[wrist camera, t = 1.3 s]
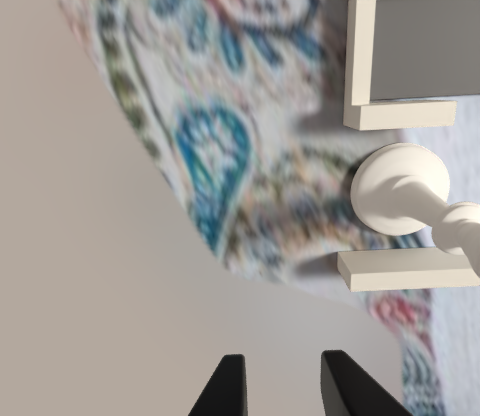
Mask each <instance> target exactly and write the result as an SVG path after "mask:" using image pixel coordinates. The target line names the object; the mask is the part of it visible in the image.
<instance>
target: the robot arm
mask: <svg viewBox="0 0 480 416" xmlns="http://www.w3.org/2000/svg"><path fill="white" fill-rule="evenodd" d="M321 393H322V399H323V404H324V409H325V414H326V416H413V415H412V414H411V413H410V412H409V411H408V410H407V409H406V408H405V407H403V406H402V405H401V404H400V403H399V402H398V401H397V400H396V399H395V398H394V397H393V396H392V395H391V394H390V393H388V392H387V391H386V390H385V389H384V388H383V387H382V386H381V385H380V384H379V383H378V382H377V381H376V380H375V379H373V378H372V377H371V376H370V375H369V374H368V373H367V372H366V371H365V370H364V369H363V368H362V367H361V366H359V365H358V364H357V363H356V362H355V361H354V360H353V359H352V358H351V357H350V356H349V355H348V354H347V353H346V352H344V351H342V350H325V351H323V352H322V355H321ZM188 416H248V411H247V385H246V369H245V357H244V356H243V355H242V354H232V355H225V356H224V357H223V358H222V360H221V361H220V363H219V364H218V366H217V368H216V370H215V371H214V373H213V375H212V376H211V378H210V380H209V381H208V383H207V385H206V386H205V388H204V390H203V391H202V393H201V395H200V396H199V398H198V400H197V402H196V403H195V405H194V406H193V408H192V410H191V412H190V413H189V415H188Z"/></svg>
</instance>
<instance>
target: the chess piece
mask: <svg viewBox="0 0 480 416" xmlns="http://www.w3.org/2000/svg"><path fill="white" fill-rule="evenodd" d="M449 187H450V182H449V175H448V172H447V169H446V167H445V165H444V163H443V162H442V161H441V159H440V158H439V157H438V156H437V155H435V154H434V153H433V152H431V151H429V150H428V149H426V148H425V147H423V146H420V145H417V144H413V143H396V144H391V145H388V146H385V147H383V148H381V149H379V150H377V151H376V152H374V153H373V154H371V155H370V156H369V157H368V158H367V159H366V160H365V161H364V162H363V163H362V164H361V166H360V167H359V168H358V170H357V172H356V174H355V176H354V178H353V181H352V185H351V203H352V206H353V209H354V211H355V213H356V215H357V216H358V218H359V219H360V220H361V221H362V222H363V223H364V224H365V225H367V226H368V227H370V228H372V229H373V230H375V231H377V232H380V233H382V234H386V235H405V234H410V233H413V232H415V231H418V230H420V229H422V228H423V227H425V226H426V225H428V226H431V227H432V239H433V242H434V244H435V245H436V247H437V248H438V249H440V250H441V251H443V252H445V253H448V254H452V255H466V256H467V258H468V260H469V263H470V265H471V267H472V269H473V270H474V272H475V273H476V275H477V276H478V277H479V278H480V205H478V204H476V203H473V202H459V203H455V204H453V205H448V204H447V203H446V200H447V198H448V194H449Z"/></svg>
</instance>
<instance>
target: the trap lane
mask: <svg viewBox="0 0 480 416" xmlns="http://www.w3.org/2000/svg"><path fill="white" fill-rule="evenodd" d="M466 94H480V0H348V23H347V46H346V70H345V94H344V117H343V125H344V126H347V127H351V128H354V129H357V130H378V129H396V128H414V127H433V126H451V125H454V119H455V112H456V105H457V101H446V100H411V101H393V102H375V103H369V100H376V99H394V98H412V97H430V96H448V95H466ZM337 268H338V270H339V272H340V274H341V275H342V277H343V279H344V281H345V283H346V285H347V286H348V288H349V290H350V292H353V291H375V290H396V289H418V288H440V287H461V286H480V278H479V277H478V276H477V275H476V273H475V272H474V270H473V269H472V267H471V265H470V263H469V260H468V258H467V256H466V255H452V254H448V253H445V252H443V251H441V250H440V249H438V248H437V247H427V248H407V249H386V250H365V251H345V252H338V259H337Z"/></svg>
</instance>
